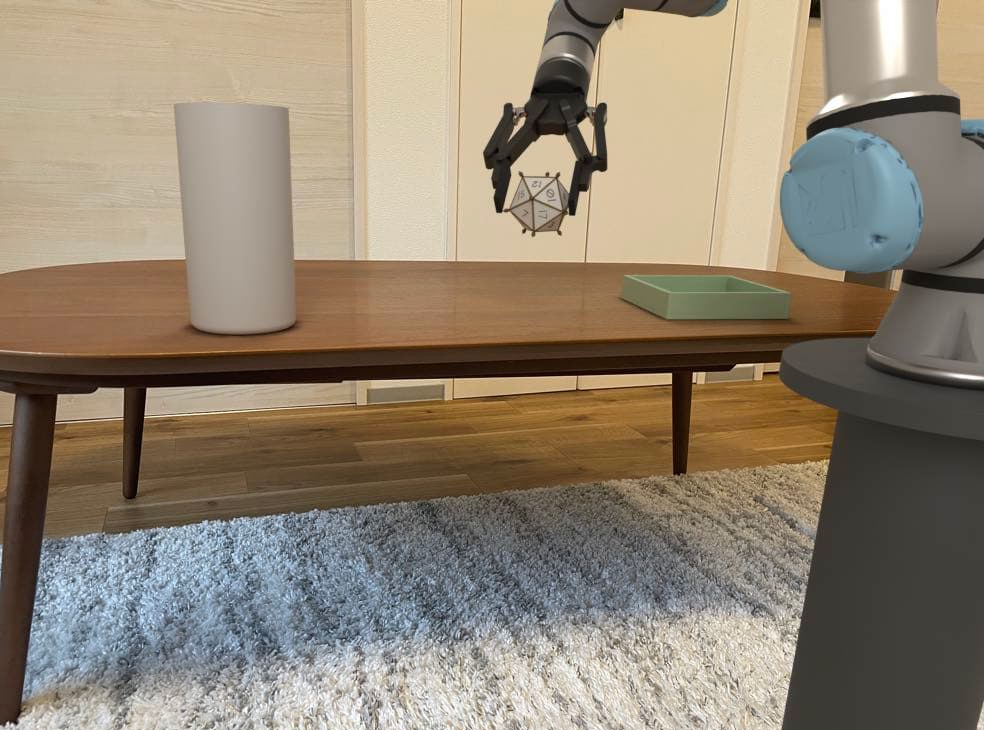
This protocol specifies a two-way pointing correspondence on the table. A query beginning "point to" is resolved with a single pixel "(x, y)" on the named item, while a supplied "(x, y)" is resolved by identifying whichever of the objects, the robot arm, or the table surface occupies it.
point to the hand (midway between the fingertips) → (534, 206)
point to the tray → (705, 297)
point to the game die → (540, 203)
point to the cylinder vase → (237, 216)
